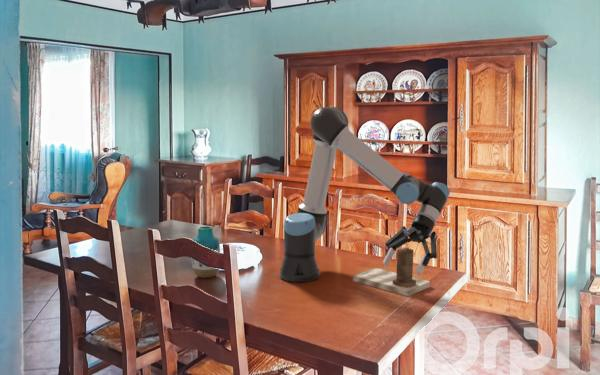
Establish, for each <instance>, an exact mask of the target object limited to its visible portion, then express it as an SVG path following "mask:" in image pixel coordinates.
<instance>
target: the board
mask: <svg viewBox="0 0 600 375" xmlns="http://www.w3.org/2000/svg"><path fill="white" fill-rule="evenodd" d="M396 276H397V272H394V271H390V270H387V269H386V270H385V269H382V268H378V267H374V268H371V269H368V270H366V271H363V272H360V273H356V274H354V275H353V276H352V281H353V282H354V283H355V282H356V283H359V284H362V285H366V286H369V287H370V286H371V287H374V288H377V289H380V290H384V291H388V292H391V293H395V294H398V295H400V296H401V295H402V296H405V297H410V296H413V295H416V294H417V293H419V292H422V291H424V290H426V289H428V288H430V287H431V281H429V280H426V279H422V278H417V277H413V276H412V279H414V280H416V284H415V285H413V286H410V287H408V288H406V287H402V286H398V285H394V284H393V280H394V279H396Z"/></svg>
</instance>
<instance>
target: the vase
mask: <svg viewBox="0 0 600 375" xmlns="http://www.w3.org/2000/svg"><path fill="white" fill-rule="evenodd" d="M213 229H214V228H213V226H210V225H204V226H203V225H202V226H198V228H197V236H196V237H194V238H193V239H192V241H193V240H194V241H196V242H197V243H199V244H201V245H203V246H205V247H208V248H210V249H213V250H216V251H218V252H220V253H221V247H220V240H219V238H218V237H216V236H215V235H214V231H213ZM191 266H192V272H193V273H194V275H195V276H197V277H198V278H200V279H201V278H203V279H205V278H206V279H208V278H213V277H215V276H217V274H218V273H219V271H220V268H219V269H214V268H210V267H207V266H205V265H203V264H201V263H199V262H198V261H196V260H194V259H192V258H191Z"/></svg>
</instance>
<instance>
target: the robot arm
mask: <svg viewBox="0 0 600 375" xmlns="http://www.w3.org/2000/svg"><path fill="white" fill-rule="evenodd" d="M310 117H311V118H310V122H309V123H310V129H311V131H312V132H313V135H312V141H313V142H314V144H315V145H314V149H313V154H312V159H311V164H310V168H309V173H308V177H307V182H306V183H307V184H306V188H305V192H304V197H303V202H302V203H300V204H298V207H297V212H296V213H291V214H288V215H287V216H286V217H285V218H284V221H283V223H284V224H283V243H284V244H283V249H284V250H283V259H282V263H281V267H280V269H279V278H280V279H281V280H283V281H286V282H291V283H308V282H312V281H316V280H318V279H319V278H320V268H319V267H318V263H317V260H316V253H315V252H316V247H315V246H316V242H317V240H318V239H319V238H321V237H322V236H323V235H324V233H325V231H326V228H327V214H328V210H327V209H326V207H325V204H326V200H327V196H328V191H329V188H330V183H331V178H332V173H333V168H334V163H335V160H336V159H335V158H336V154H337V150H338V151H340V152H341V153H343V154H344V155H345V156H346V157H347V158H348V159H350V160H351V161H353V163H355V164H356V165H358V166H359V167H360V168H361V169H363V170H364V172H366V173H368V174H369V176H371V177H372V178H374V179H375V180H376V181H378V182H379V183H380V184H381V185H382V186H384V187H385V188H386V189H387V190H389V191H390V192H391V193H392V194H393V195H395V196H396V198H397V200H398V201H399V202H400V203H401V204H403V205H411V204H413V203H414V202H419V203H421V205H420V206H419V209H418V211H417V212H416V214H415V216H414V219H413V221H412V223H411V226H410V227H409V228H407V227H406V226H404V225H402V226H401V228H400V230H399V231H398V232H396V233H395V234H394V235H393V236H391V238H389V240H387V241H386V242H385V243H384V245H385V247H386V248H387V250H386V252H385V254H384V255H385V257H384V259H383V261H382V264H383V265H384V267H386V268H388V266H389V265H390V262H392V261H391V260H392V258H393V257H394V256H395V253H396V251H395V250H398V248H399V249H400V247H403V246H404V245H406V244H407V243H411V242H412V243H414V242H415V243H418V244H420V243H421V244H422V248H423V250H424V253H425V254H423V255H422V257H421V258H420V260H419V263H418V265H417V267H416V269H415V271H416V273H417V275H419V276H421V275H422V273H423V270H424V268H425V267H427V266H428V265H429V262H430V260H431V259H437V258H438V249H437V239H438V235H437V233H436V231H433V230H434V228H435V224H436V223H437V221H438V219H439V216H440V215H441V213H442V211H443V209H444V207H445V205H446V203H447V201H448V198H449V196H450V193H451V191H450V188H449V187H448V186H447V185H446V184H445V183H443V182H438V181H435V182H433V183H432V184H429V183H428V182H427V183H426V182H424V181H423V180H421V179H418V178H417V177H415V176H412V174H409V173H407V172H402V171H401V170H398V168H396V167H395V166H394V165H392V164H391V163H390V162H389V161H388V160H386V159H385V158H384V157H382V156H381V155H380V154H379V153H377V151H375V150H374V149H373V148H371V147H370V146H369V145H368V144H366V143H365V141H363V140H362V139H360V138H359V137H357V135H355V134H354V133H352V132H351V131H350V128H349V119H348V118H349V117H348V116H347V114H346V113H345V112H344V110H342V109H341V108H339V107H336V106H323V107H321V108H320V107H319V108H318V109H317V110H315V111H314V112H313V113H312V115H311V116H310ZM428 238H429V239H430V249H429V246H428V242H427V239H428Z"/></svg>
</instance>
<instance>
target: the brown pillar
mask: <svg viewBox="0 0 600 375" xmlns="http://www.w3.org/2000/svg"><path fill="white" fill-rule="evenodd" d="M396 252H397V253H396V273H397V276H396V279H394V280H393V284H394V285H398V286H402V287H406V288H408V287H410V286H413V285H415V284H416V280H414V279H412V277H413V270H414V269H413V268H414V249H412V248H409V247H407V246H404V247H403V246H401V248H399V249H398V248H397V249H396Z"/></svg>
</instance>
